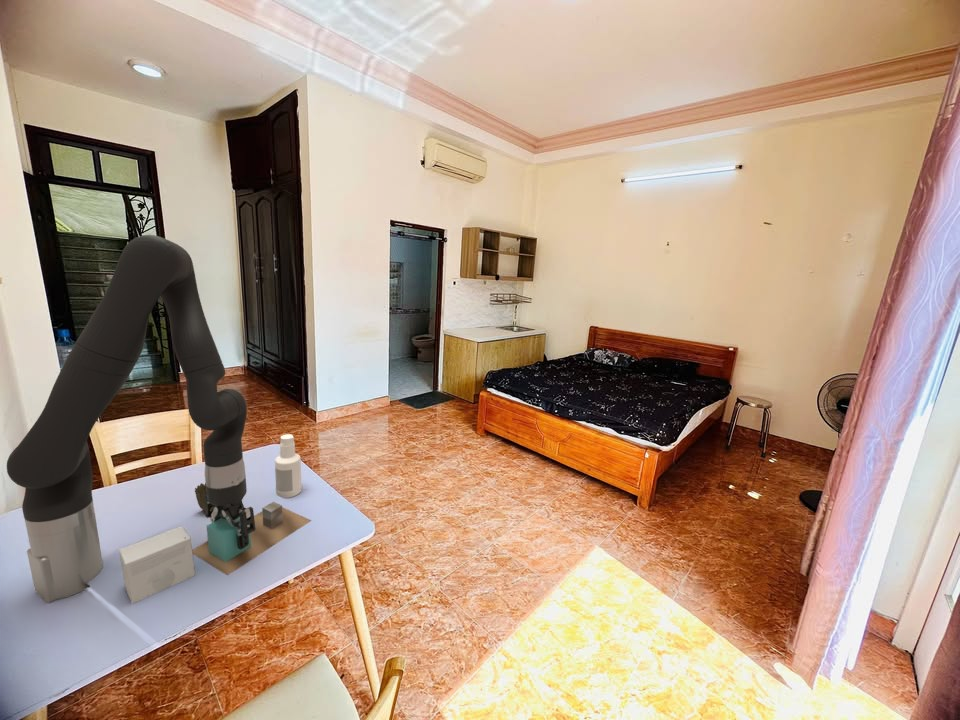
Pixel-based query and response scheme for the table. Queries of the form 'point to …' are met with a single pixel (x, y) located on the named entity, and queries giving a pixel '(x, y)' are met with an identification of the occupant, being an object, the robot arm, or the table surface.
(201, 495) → the bronze textured bowl
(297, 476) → the spray bottle
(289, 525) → the board
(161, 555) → the skincare box
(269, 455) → the table surface
